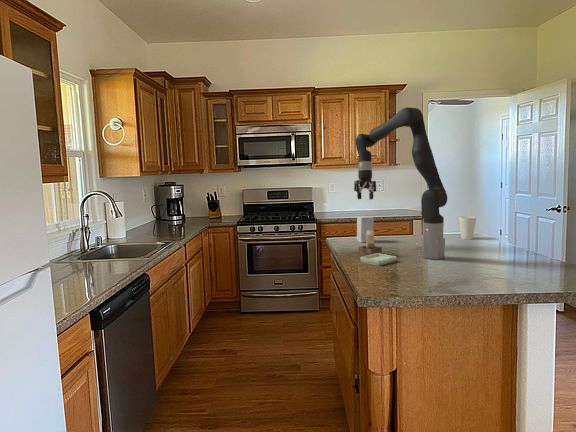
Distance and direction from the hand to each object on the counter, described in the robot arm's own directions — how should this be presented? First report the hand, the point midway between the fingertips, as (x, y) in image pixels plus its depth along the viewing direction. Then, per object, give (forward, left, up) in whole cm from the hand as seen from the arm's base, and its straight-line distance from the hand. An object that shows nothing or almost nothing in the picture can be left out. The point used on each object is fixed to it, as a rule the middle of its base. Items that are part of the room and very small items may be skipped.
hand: (365, 199), depth 226 cm
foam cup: (-29, -60, -26) cm, 71 cm away
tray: (-29, +25, -26) cm, 46 cm away
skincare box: (+8, -10, -26) cm, 29 cm away
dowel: (-16, +15, -26) cm, 34 cm away
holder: (-16, +15, -26) cm, 34 cm away
